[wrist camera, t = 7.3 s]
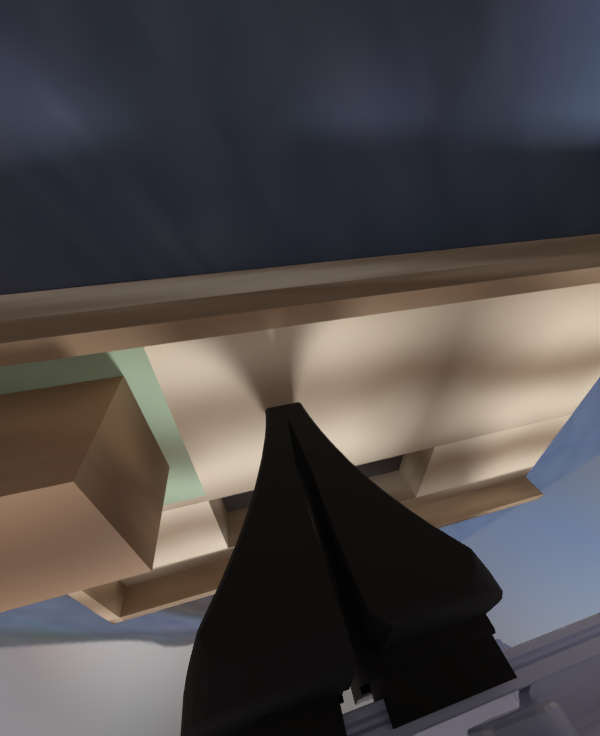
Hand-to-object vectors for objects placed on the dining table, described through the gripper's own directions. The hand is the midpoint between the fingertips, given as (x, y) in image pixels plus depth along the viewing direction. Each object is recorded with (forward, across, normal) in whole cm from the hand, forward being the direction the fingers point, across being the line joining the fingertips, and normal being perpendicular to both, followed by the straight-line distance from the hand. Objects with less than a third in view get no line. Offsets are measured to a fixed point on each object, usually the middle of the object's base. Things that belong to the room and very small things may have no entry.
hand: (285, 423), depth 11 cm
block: (+1, +8, 0) cm, 8 cm away
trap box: (+3, -4, +4) cm, 7 cm away
